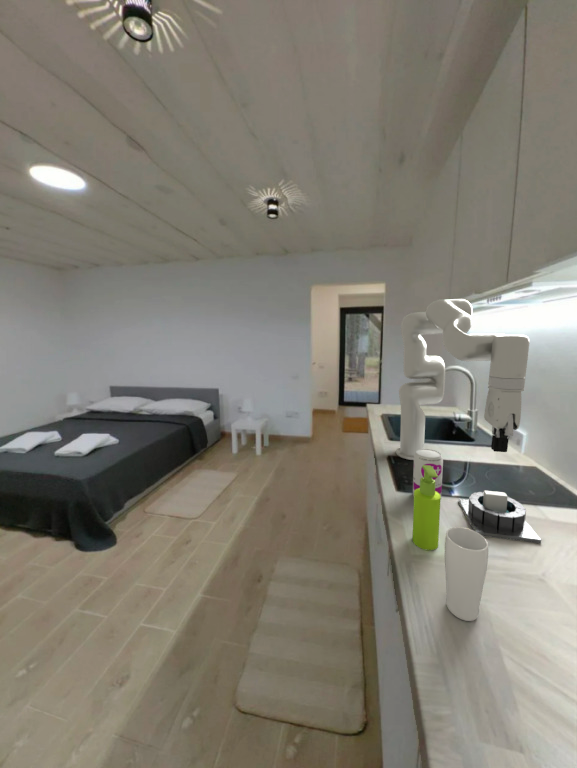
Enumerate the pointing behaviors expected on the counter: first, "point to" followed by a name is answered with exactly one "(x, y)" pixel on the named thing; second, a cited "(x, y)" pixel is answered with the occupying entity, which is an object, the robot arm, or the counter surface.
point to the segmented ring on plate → (498, 520)
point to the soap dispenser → (426, 512)
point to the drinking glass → (465, 571)
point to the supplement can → (432, 460)
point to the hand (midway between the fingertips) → (498, 450)
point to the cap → (495, 501)
